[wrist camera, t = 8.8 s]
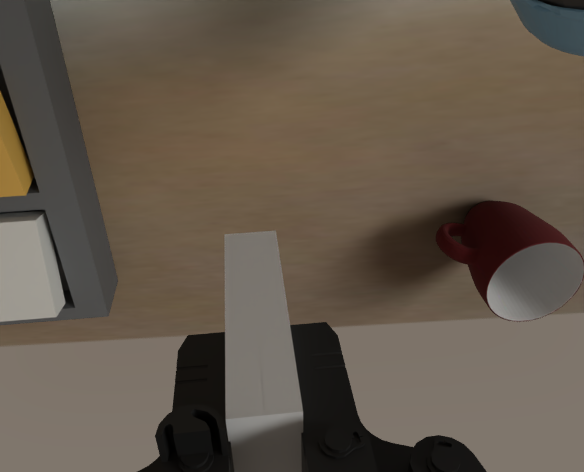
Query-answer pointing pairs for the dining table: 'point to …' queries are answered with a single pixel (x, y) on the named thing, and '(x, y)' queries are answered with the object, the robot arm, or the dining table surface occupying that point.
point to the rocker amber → (12, 158)
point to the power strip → (54, 158)
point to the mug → (514, 260)
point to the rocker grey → (28, 268)
